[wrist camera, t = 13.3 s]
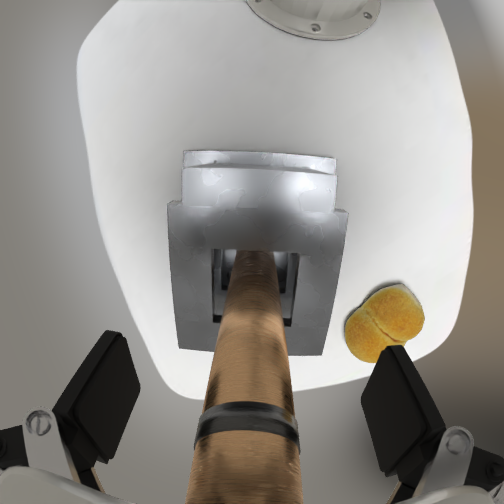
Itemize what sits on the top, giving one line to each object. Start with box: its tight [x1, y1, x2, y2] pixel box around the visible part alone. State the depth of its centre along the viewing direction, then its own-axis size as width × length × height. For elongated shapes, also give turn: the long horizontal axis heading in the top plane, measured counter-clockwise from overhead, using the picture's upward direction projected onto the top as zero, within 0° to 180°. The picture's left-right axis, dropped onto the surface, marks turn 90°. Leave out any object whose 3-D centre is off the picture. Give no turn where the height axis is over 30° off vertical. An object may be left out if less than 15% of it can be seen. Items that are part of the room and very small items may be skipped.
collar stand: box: [167, 151, 348, 356], centre depth 19 cm, size 14×12×8 cm
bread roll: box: [345, 284, 425, 363], centre depth 25 cm, size 8×9×4 cm
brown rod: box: [185, 250, 303, 504], centre depth 13 cm, size 3×3×20 cm
